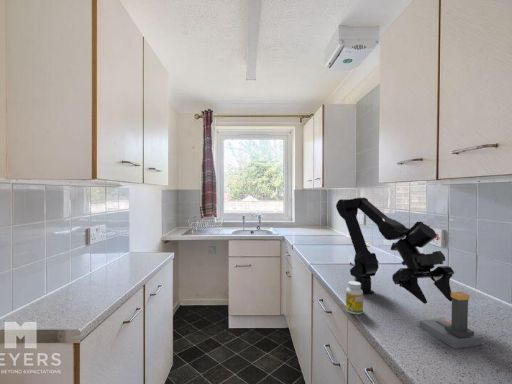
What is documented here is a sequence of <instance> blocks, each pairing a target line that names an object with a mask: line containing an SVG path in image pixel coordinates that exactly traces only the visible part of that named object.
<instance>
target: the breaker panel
mask: <svg viewBox="0 0 512 384" xmlns="http://www.w3.org/2000/svg"><path fill="white" fill-rule="evenodd" d="M451 322H452V320H451V319H448V318H446V317H440V318H437V317H436V318H431V319H428V318H427V319H420V320H419V328H420V329H422V330H424V331H425V332H427V333H428V334H430V335H432V336H433V337H435V338H436V339H438V340H440V341H442V342H443V343H444V344H446V345H448V346H449V347H451V348H453V349H460V348H466V347H467V348H468V347H475V346H482V345H483V344H482V343H483V337H482V336H480V335H478V334H477V333H475V332H474V336H467V337H457V336H455V335H454V334H452V333H450V332H448V331H447V330H445V326H450V325H451Z"/></svg>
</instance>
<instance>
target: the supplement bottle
mask: <svg viewBox="0 0 512 384" xmlns="http://www.w3.org/2000/svg"><path fill="white" fill-rule="evenodd" d="M347 285H348V287H346V290H345V310H346V312H347V313H349V314H352V315H362V314H363V311H364V294H363V291H362V290H361V289H360V288H361V283H359V282H356V281H355V280H350V281H348V283H347Z"/></svg>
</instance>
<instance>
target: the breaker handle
mask: <svg viewBox="0 0 512 384" xmlns="http://www.w3.org/2000/svg"><path fill="white" fill-rule="evenodd" d="M451 297H452V301H451V321H452V322H451V325H450V326H445V330H447V331H448V332H450V333H452V334H454V335H455V336H457V337H467V336H474V333H475V331H474V330H471V329H469V328H468V321H469V320H468V314H469V311H468V310H469V300H470V294H468V293H466V292H462V291H451Z"/></svg>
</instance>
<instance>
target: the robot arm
mask: <svg viewBox="0 0 512 384" xmlns="http://www.w3.org/2000/svg"><path fill="white" fill-rule="evenodd" d="M335 208H336V210H337V213H338V214H339V216H340V217H341V218H342V219H343V220H344V222H345V225H346V227H347V231H348V234H349V237H350V239H351V243H352V246H353V249H354V251H355V252H354V253H355V254H354V259H353V261H354V265H353V266H352V267H351V268H350V269H349V272H350V275H351V276H352V277H354V281H356V282H359V283H361V288H360V289H361V290H362V291H363V295H364V294H375V291H374V290H373V289H372V277H375V276H376V273H377V272H378V269H380V268H379V264H380V262H379V260H378V257H377V254H376V252H370V250H369V249H368V246H367V243H366V240H365V238H364V235H363V232H362V230H361V226H360V223H359V220H358V211H359V210H360V212H362V213H363V214H365V216H366V217H367V218H368V219H370V220H371V221H372V222H373V223H374V224H375V225H376V226H377V229H378V232H380V234H381V236H383V238H384V239H386V240H387V241H394V240H398V241H396V242H392V243H391V246H390V250H391V251H397V252H398V254H399V255H400V257H401V260H403V261H401V264H402V266H406V267H401V268H398V270H396V271H395V273H393V274H392V278H391V279H392V281H393V283H394V285H398V286H399V287H400V288H403V289H405V290H406V291H408V292H409V293H411V294H412V295H413V296H414V297H416V299H418V300H419V301H420V302H421V303H423V304H427V303H428V301H427V298H426V296H425V294H424V292H423V290H422V289H421V287H420V285H419V281H418V279H424V278H425V279H426V278H427V279H428V278H430V279H431V280H432V281H433V285H434V286H435V287H436V289H438V290H439V292H440V293H441V294H442V295H443V296H444V297H445V298H446V300H448V301H449V302H452V297H451V292H452V290H451V285H450V281H451V278H453V275H454V274H455V271H454V270H453V268H452V267H451V266H448V265H444V262H446V256H445V254H444V253H443V252H442V251H440V250H438V251H432V253H422V252H420V250H419V249H421V248H424V247H425V246H426V245H428V244H429V243H430V242H432V241H434V240H435V239H436V238H437V233H436V230H434V229H433V228H432V227H430V226H429V225H427V224H426V223H424V222H423V221H416V222H415V223H414V224H413V225H412V226H411V227H410V228H408V227H406V226H405V225H404V224H402V223H401V222H400V221H399V220H395V219H393V218H391V217H388V216H387V215H385V213H383V212H382V211H381V210H380V209H378V208H377V207H376V206H375V205H374V204H372V203H371V202H370V201H369V199H368V198H366V197H355V198H351V199H348V198H346V199H339V200H338V201H337V202H336V205H335ZM418 248H419V249H418ZM436 265H444V266H437V267H436V268H435V266H436ZM434 268H435V269H434ZM431 269H434V270H431Z"/></svg>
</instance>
